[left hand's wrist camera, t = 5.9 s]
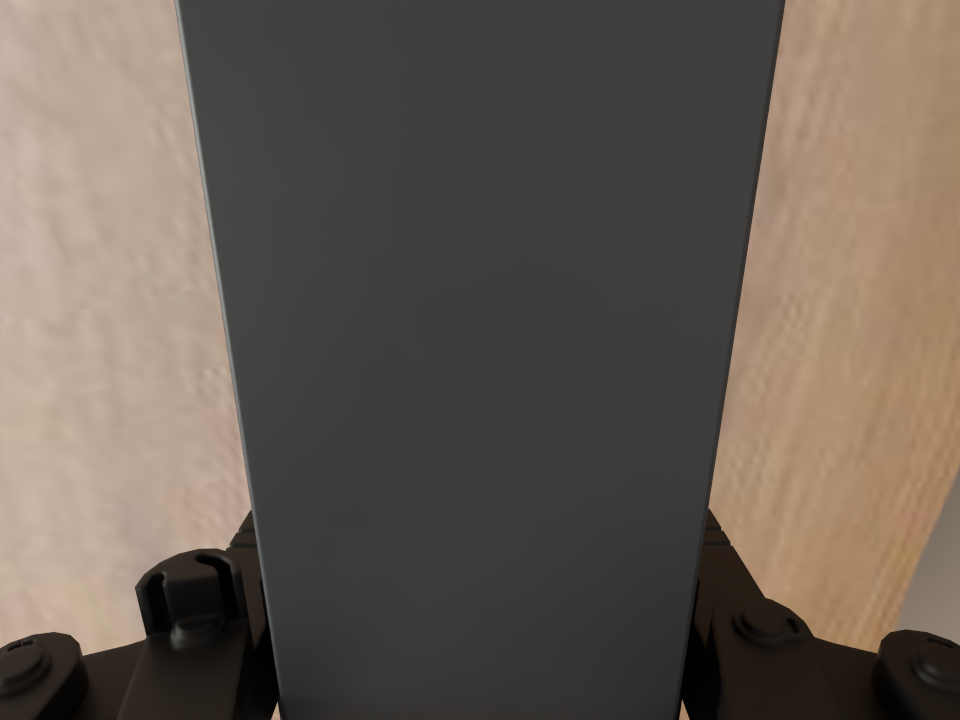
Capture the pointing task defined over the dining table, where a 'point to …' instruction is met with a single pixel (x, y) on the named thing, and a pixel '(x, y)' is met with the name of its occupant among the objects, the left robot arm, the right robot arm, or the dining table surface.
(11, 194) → the dining table surface
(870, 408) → the dining table surface
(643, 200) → the bar
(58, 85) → the dining table surface
